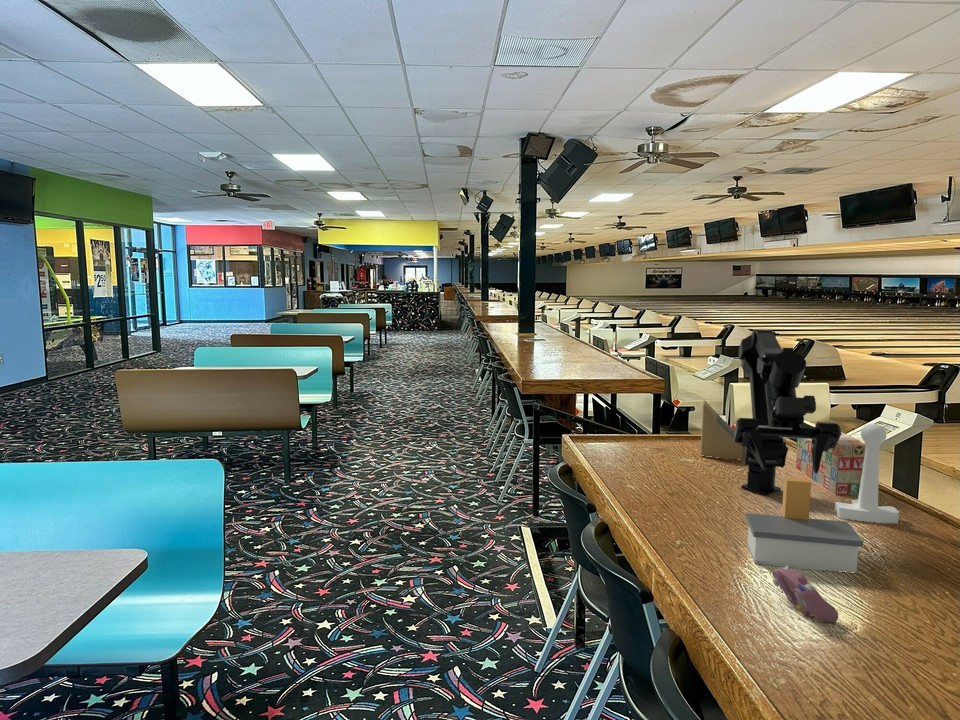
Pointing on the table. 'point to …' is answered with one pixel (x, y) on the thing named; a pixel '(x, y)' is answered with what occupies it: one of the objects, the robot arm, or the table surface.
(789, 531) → the lid
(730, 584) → the table surface
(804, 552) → the tub
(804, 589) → the video game controller
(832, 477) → the stack of blocks
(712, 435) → the sandwich container
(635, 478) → the table surface
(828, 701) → the table surface
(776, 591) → the table surface
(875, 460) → the joystick
